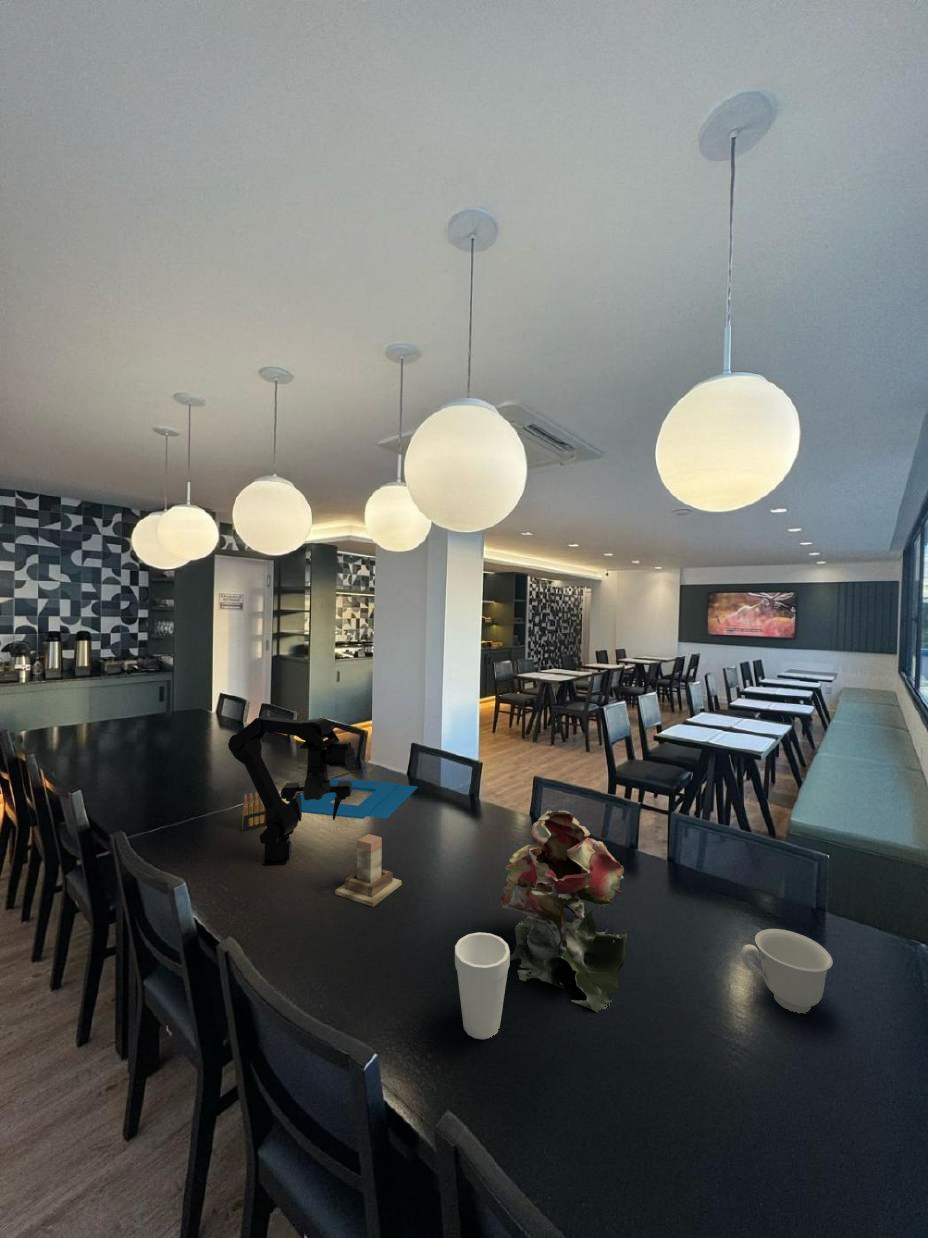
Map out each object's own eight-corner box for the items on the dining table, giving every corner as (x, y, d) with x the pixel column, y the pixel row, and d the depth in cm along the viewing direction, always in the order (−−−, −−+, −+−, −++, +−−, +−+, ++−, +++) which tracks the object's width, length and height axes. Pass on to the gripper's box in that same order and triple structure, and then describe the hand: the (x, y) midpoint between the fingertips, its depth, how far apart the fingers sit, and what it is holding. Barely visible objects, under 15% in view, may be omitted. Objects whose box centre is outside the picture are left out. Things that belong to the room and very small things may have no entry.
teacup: (728, 975, 101) (728, 925, 101) (808, 982, 100) (808, 930, 100) (756, 1023, 89) (756, 966, 89) (847, 1031, 88) (848, 973, 88)
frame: (417, 789, 212) (417, 784, 212) (384, 825, 177) (384, 819, 177) (326, 781, 222) (326, 776, 222) (277, 814, 186) (277, 808, 186)
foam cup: (452, 1005, 93) (453, 933, 93) (503, 1002, 94) (504, 931, 94) (456, 1049, 83) (457, 969, 83) (512, 1045, 84) (513, 966, 84)
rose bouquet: (630, 929, 116) (631, 797, 116) (614, 1022, 89) (616, 850, 89) (521, 903, 126) (522, 782, 126) (478, 980, 99) (479, 825, 99)
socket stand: (335, 894, 130) (335, 880, 130) (365, 873, 140) (365, 860, 140) (373, 907, 124) (373, 892, 124) (401, 884, 135) (401, 871, 135)
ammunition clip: (242, 831, 167) (243, 795, 167) (241, 830, 168) (241, 793, 168) (275, 823, 174) (276, 788, 174) (273, 821, 175) (274, 786, 175)
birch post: (356, 887, 131) (357, 840, 131) (367, 879, 135) (368, 834, 135) (370, 891, 129) (371, 844, 129) (381, 883, 133) (381, 837, 133)
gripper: (275, 774, 135) (275, 833, 135) (348, 772, 137) (347, 831, 137) (285, 762, 146) (285, 817, 146) (352, 761, 148) (352, 815, 148)
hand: (317, 820), depth 144 cm, fingers open, 9 cm apart
